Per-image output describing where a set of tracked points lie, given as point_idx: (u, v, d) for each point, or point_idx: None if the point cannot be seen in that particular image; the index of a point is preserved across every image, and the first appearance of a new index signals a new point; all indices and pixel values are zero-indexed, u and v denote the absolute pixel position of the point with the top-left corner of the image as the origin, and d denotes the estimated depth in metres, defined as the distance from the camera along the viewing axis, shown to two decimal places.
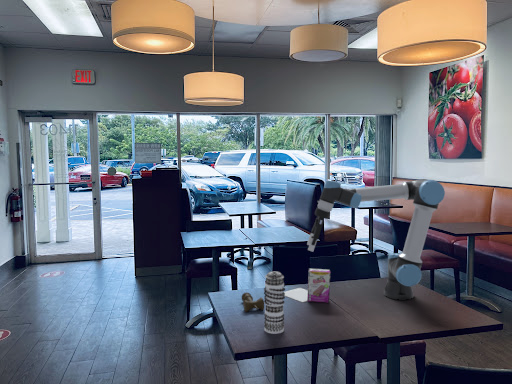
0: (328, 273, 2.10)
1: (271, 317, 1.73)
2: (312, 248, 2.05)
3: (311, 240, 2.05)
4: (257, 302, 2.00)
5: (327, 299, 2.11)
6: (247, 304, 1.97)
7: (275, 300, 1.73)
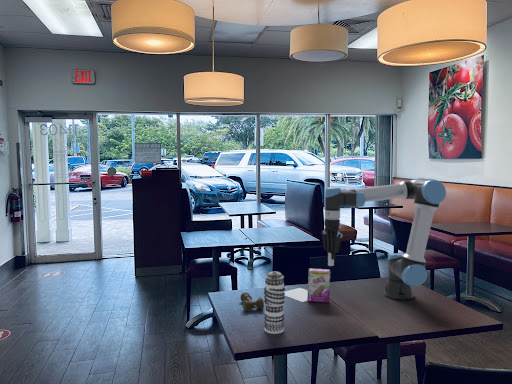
0: (328, 273, 2.10)
1: (271, 317, 1.73)
2: (332, 262, 2.05)
3: (330, 255, 2.04)
4: (257, 302, 2.00)
5: (327, 299, 2.11)
6: (247, 304, 1.97)
7: (275, 300, 1.73)
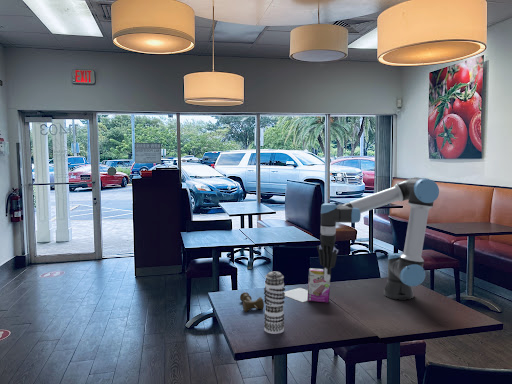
0: None
1: (271, 317, 1.73)
2: (328, 277, 2.08)
3: (326, 270, 2.07)
4: (256, 302, 2.00)
5: (327, 299, 2.11)
6: (247, 304, 1.97)
7: (275, 300, 1.73)
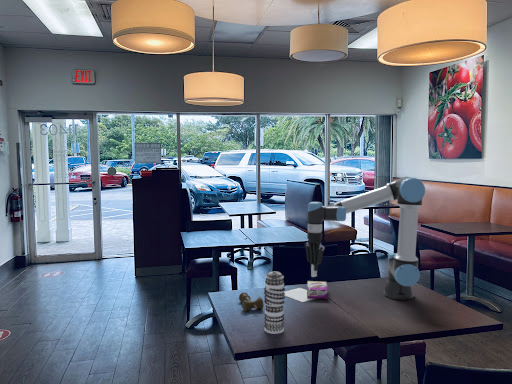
0: None
1: (271, 317, 1.73)
2: (315, 273, 2.15)
3: (313, 267, 2.14)
4: (256, 302, 2.00)
5: (326, 289, 2.17)
6: (247, 304, 1.97)
7: (275, 300, 1.73)
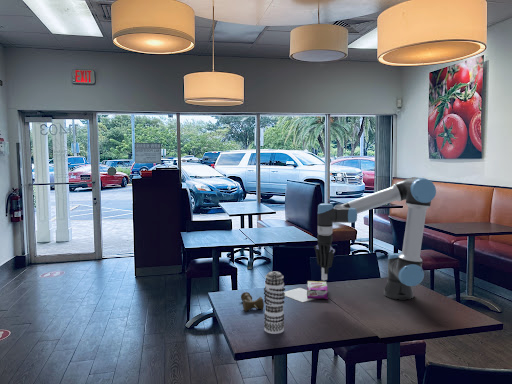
0: None
1: (271, 317, 1.73)
2: (326, 276, 2.10)
3: (323, 270, 2.08)
4: (256, 301, 2.01)
5: (326, 289, 2.17)
6: (247, 304, 1.98)
7: (275, 300, 1.73)
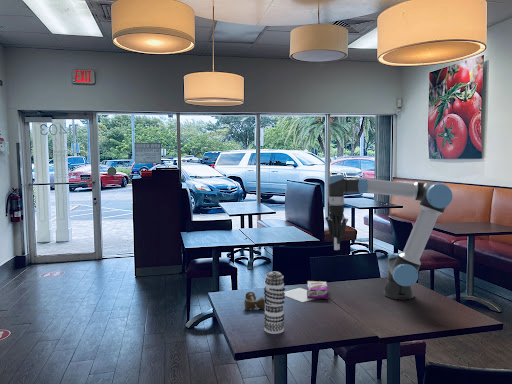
0: None
1: (271, 317, 1.73)
2: (338, 246, 2.14)
3: (336, 240, 2.13)
4: (258, 301, 2.01)
5: (326, 289, 2.17)
6: (247, 303, 1.98)
7: (275, 300, 1.73)
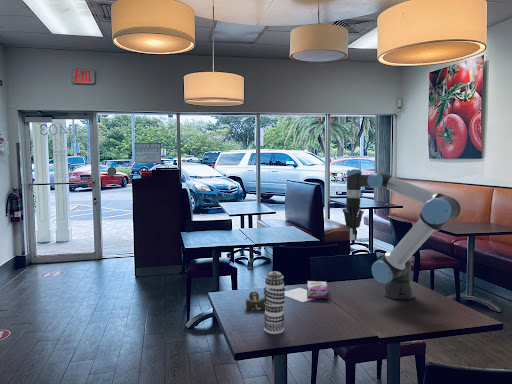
0: None
1: (271, 317, 1.73)
2: (354, 237, 2.27)
3: (352, 230, 2.25)
4: (259, 302, 2.01)
5: (326, 289, 2.17)
6: (248, 303, 1.99)
7: (275, 300, 1.73)
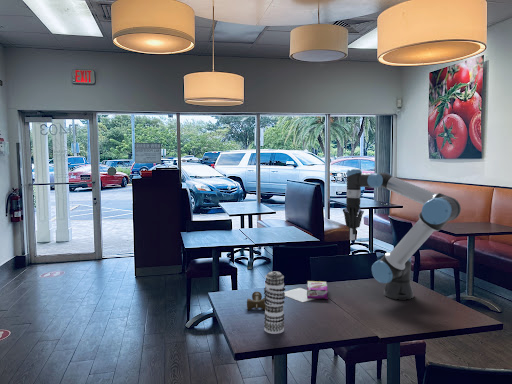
0: None
1: (271, 317, 1.73)
2: (354, 237, 2.27)
3: (352, 230, 2.26)
4: (260, 302, 2.00)
5: (326, 289, 2.17)
6: (248, 302, 1.99)
7: (275, 300, 1.73)
